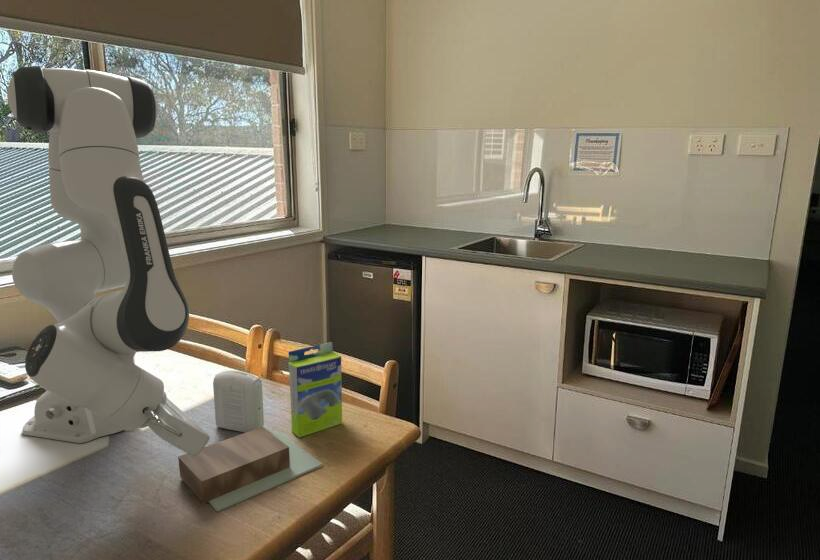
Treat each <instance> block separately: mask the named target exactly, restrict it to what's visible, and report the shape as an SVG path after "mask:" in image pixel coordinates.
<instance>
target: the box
mask: <svg viewBox="0 0 820 560" xmlns="http://www.w3.org/2000/svg"><path fill="white" fill-rule="evenodd" d="M333 348H334V347H333V341H330V342H326V343H320V344H317V345H312V346H308V347H304V348H299V349H295V350H290V351H288V363H287V365H288V371H289V390H290V393H289V394H290V410H291V412H290V413H291V432H292V433H294V435H295V436H297V437H298V438H302V437H305V436H308V435H310V434H313V433H317V432H321V431H323V430H327V429H329V428H332V427H336V426H339V425H342V424H343V404H342V403H343V401H342V400H343V392H342V391H343V389H342V388H343V386H342V383H343V382H342V380H343V379H342V356H341V355H340V354H338V353H336V352H335V351H334V350H333ZM311 350H317V351H316V352H313V353H308V354H305V353H307V352H310V351H311Z"/></svg>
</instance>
